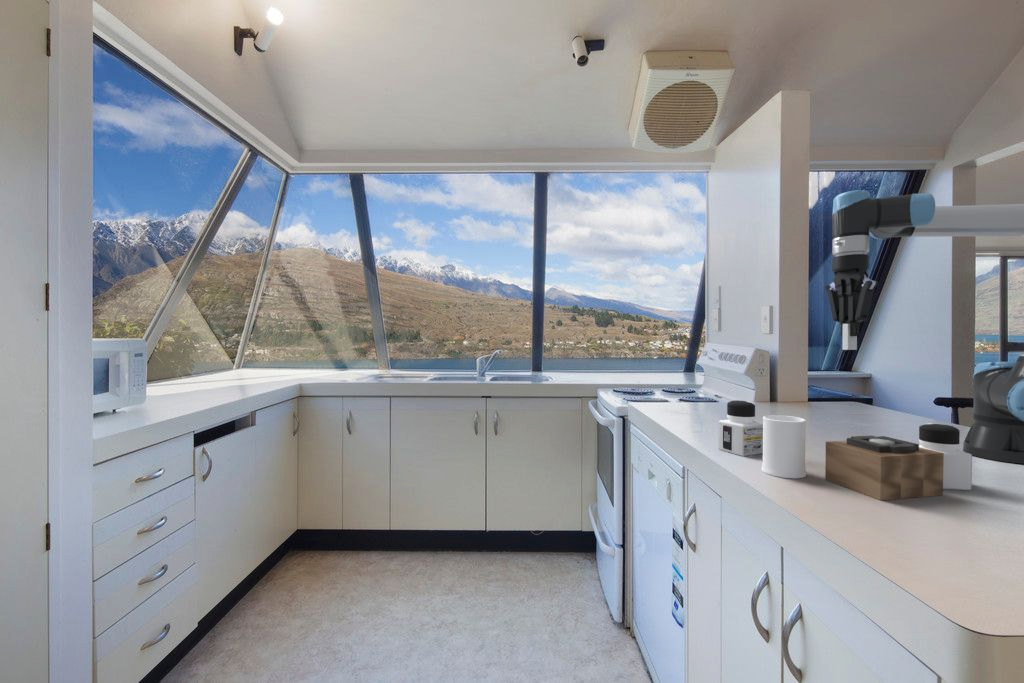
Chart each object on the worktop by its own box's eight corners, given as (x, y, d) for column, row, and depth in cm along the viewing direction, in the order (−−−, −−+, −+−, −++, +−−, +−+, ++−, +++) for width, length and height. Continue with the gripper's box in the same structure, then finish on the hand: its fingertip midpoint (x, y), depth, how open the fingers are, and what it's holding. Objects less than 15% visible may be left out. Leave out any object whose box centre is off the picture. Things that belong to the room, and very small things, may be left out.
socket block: (881, 475, 100) (882, 433, 100) (942, 495, 88) (943, 446, 88) (825, 479, 97) (825, 435, 97) (880, 500, 85) (880, 450, 85)
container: (742, 456, 115) (743, 404, 115) (717, 449, 123) (718, 400, 122) (764, 453, 119) (765, 402, 118) (738, 446, 126) (739, 398, 125)
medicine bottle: (972, 490, 90) (973, 429, 90) (929, 488, 92) (930, 427, 91) (946, 479, 97) (947, 422, 97) (906, 477, 99) (907, 421, 98)
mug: (763, 461, 111) (764, 411, 111) (806, 467, 107) (806, 414, 106) (760, 474, 101) (760, 419, 101) (806, 481, 96) (807, 423, 96)
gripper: (815, 259, 122) (815, 348, 123) (861, 250, 109) (860, 350, 110) (840, 259, 124) (839, 348, 124) (888, 251, 111) (887, 350, 111)
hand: (849, 349), depth 117 cm, fingers closed
